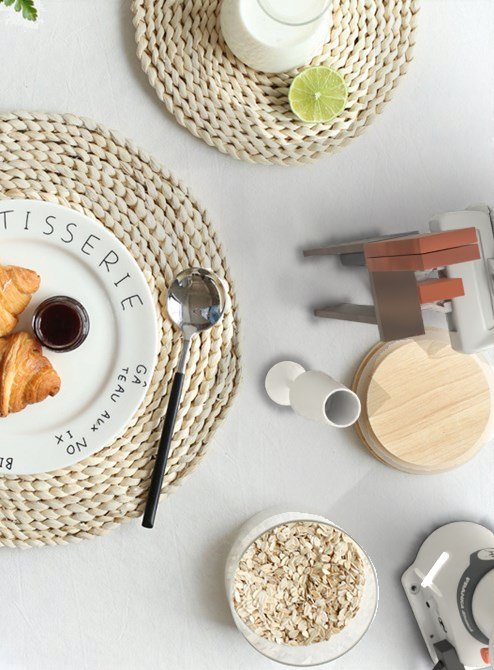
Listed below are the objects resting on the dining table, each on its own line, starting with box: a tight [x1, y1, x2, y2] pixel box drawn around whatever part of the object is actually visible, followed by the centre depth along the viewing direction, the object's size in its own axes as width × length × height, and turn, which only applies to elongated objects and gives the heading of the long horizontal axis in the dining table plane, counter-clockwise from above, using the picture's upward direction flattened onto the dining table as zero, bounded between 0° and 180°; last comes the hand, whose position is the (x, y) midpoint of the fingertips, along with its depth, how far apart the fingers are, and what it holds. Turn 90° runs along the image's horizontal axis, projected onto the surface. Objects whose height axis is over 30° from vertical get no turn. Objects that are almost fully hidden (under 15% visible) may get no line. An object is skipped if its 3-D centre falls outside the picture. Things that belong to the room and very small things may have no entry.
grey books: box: [339, 230, 420, 267], centre depth 116 cm, size 3×6×15 cm, turn 101°
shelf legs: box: [302, 236, 397, 326], centre depth 111 cm, size 10×5×24 cm, turn 11°
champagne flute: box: [264, 360, 362, 428], centre depth 111 cm, size 7×7×24 cm
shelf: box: [363, 227, 481, 343], centre depth 91 cm, size 12×6×16 cm, turn 11°
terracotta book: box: [416, 277, 465, 304], centre depth 117 cm, size 2×6×15 cm, turn 101°
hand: (413, 291), depth 116 cm, fingers closed on terracotta book, 2 cm apart
